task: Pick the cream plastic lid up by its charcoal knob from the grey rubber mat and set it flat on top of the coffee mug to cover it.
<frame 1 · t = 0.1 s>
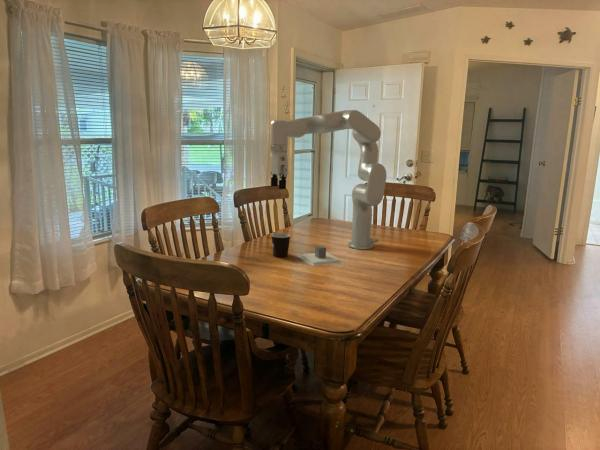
hand: (278, 187, 200), 31 cm above the table, tool pointing down, fingers open, 9 cm apart
mat: (320, 260, 199), on the table
coffee mug: (281, 256, 204), on the table
lid: (320, 259, 199), resting on mat
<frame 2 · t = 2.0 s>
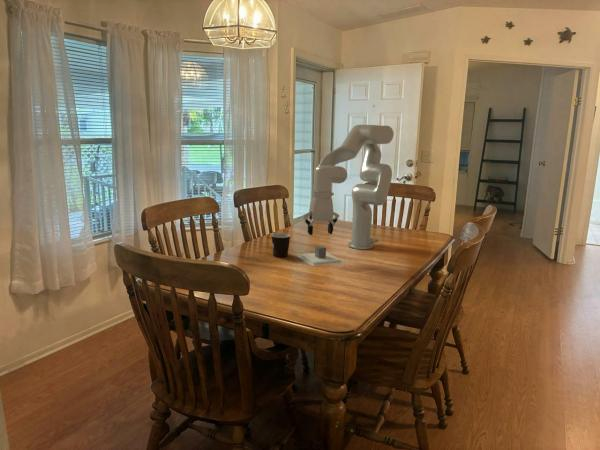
hand: (320, 233, 196), 12 cm above the table, tool pointing down, fingers open, 9 cm apart
nothing on the table moved.
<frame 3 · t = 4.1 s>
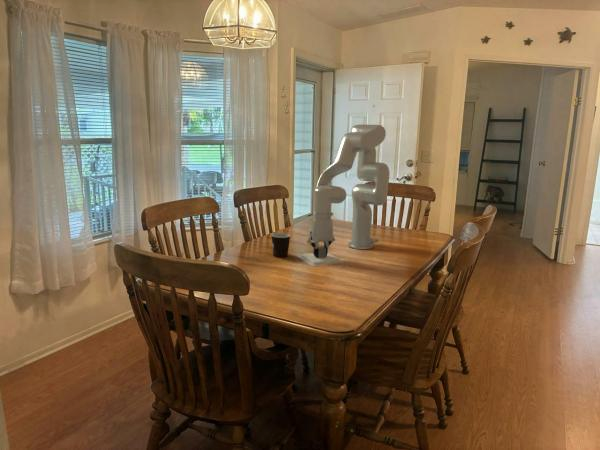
hand: (320, 255, 199), 2 cm above the table, tool pointing down, fingers closed on lid, 3 cm apart
lid: (320, 258, 199), point 1 cm above the table, touching gripper
everything else where it was.
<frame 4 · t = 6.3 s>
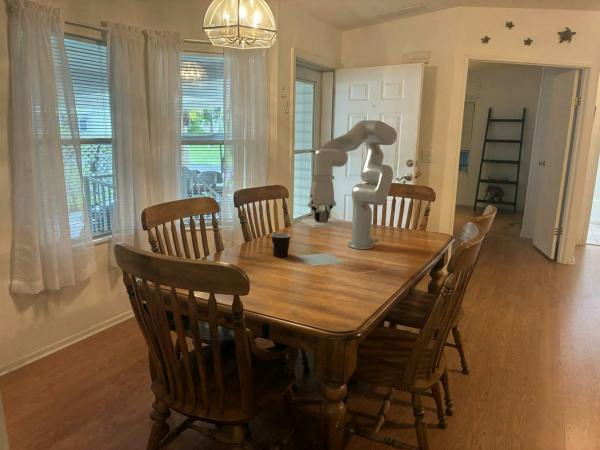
hand: (321, 220, 196), 18 cm above the table, tool pointing down, fingers closed on lid, 3 cm apart
lid: (321, 223, 196), point 17 cm above the table, touching gripper
everything else where it was.
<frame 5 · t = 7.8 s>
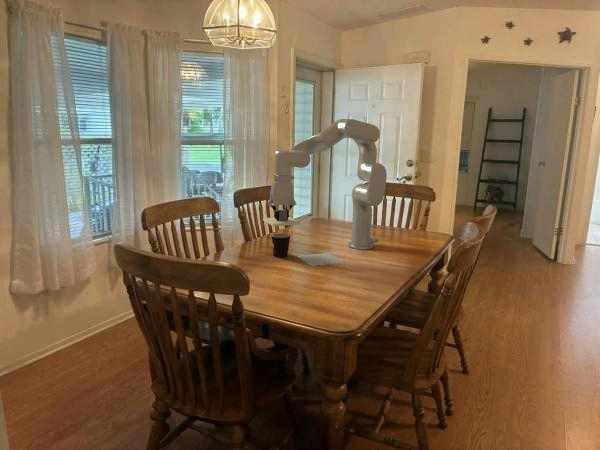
hand: (281, 219, 201), 17 cm above the table, tool pointing down, fingers closed on lid, 3 cm apart
lid: (281, 222, 201), point 16 cm above the table, touching gripper
everything else where it was.
when the fingers open (13 cm above the table, at t = 8.7 s): lid drops 1 cm, resting on coffee mug.
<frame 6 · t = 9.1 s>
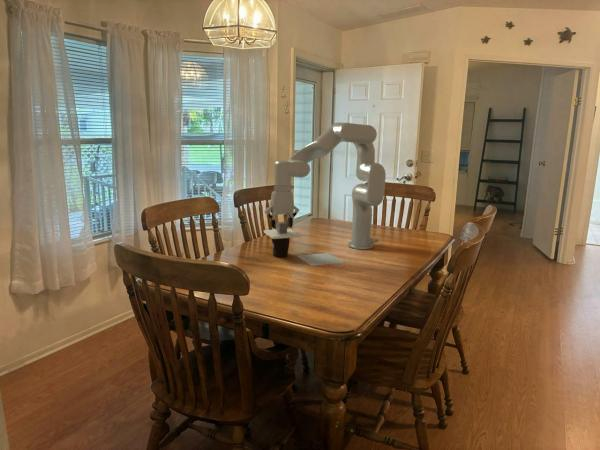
hand: (281, 227, 202), 13 cm above the table, tool pointing down, fingers open, 7 cm apart
coffee mug: (281, 256, 204), on the table, touching lid
lid: (281, 234, 202), point 10 cm above the table, touching coffee mug
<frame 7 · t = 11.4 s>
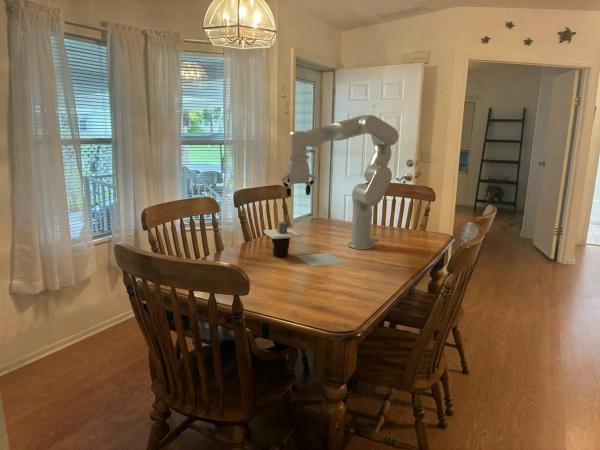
hand: (298, 195, 208), 27 cm above the table, tool pointing down, fingers open, 9 cm apart
nothing on the table moved.
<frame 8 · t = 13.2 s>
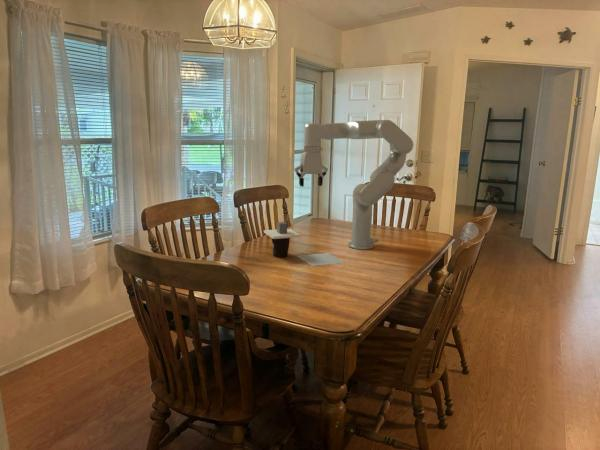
hand: (310, 185, 215), 30 cm above the table, tool pointing down, fingers open, 9 cm apart
nothing on the table moved.
at the end: lid 0.1 cm off-centre on the coffee mug, point 10.2 cm above the coffee mug's base; lid tilted 0°; coffee mug tilted 0° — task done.
